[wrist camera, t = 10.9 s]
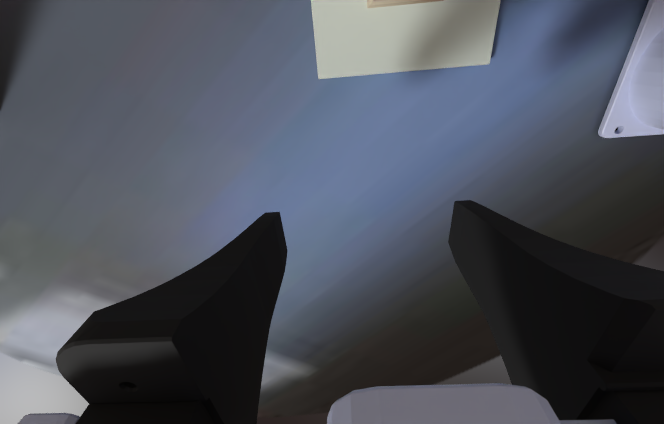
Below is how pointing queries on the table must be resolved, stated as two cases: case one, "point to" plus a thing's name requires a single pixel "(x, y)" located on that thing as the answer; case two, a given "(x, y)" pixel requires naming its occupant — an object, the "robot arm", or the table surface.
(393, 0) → the birch block
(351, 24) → the tile
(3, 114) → the table surface
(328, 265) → the table surface
